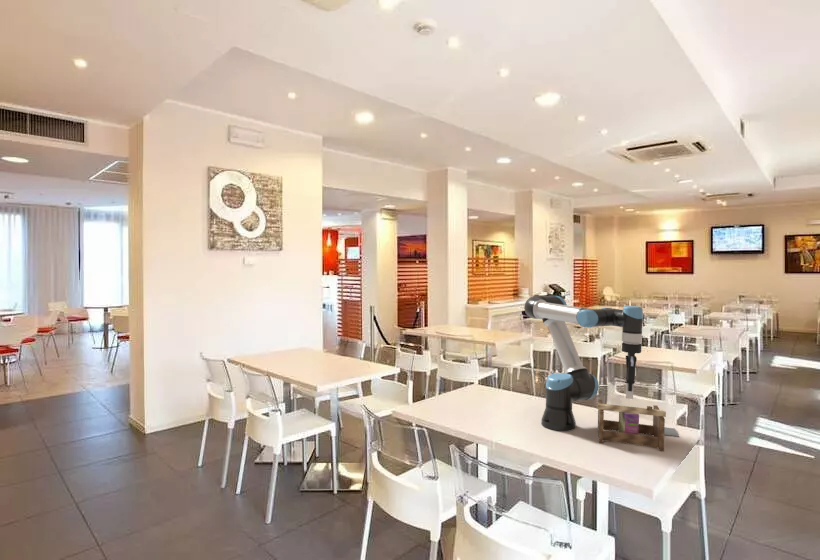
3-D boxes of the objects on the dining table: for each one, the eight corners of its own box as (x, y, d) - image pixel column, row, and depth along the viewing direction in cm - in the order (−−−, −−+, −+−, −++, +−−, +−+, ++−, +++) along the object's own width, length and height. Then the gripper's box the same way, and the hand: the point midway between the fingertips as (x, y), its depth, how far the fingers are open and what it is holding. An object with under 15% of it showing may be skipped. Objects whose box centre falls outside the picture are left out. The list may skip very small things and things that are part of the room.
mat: (653, 434, 207) (653, 433, 207) (650, 426, 218) (650, 425, 218) (679, 437, 204) (679, 436, 204) (674, 429, 214) (674, 428, 214)
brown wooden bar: (597, 409, 198) (597, 402, 198) (597, 407, 201) (597, 400, 201) (665, 416, 189) (665, 409, 189) (664, 414, 192) (664, 407, 192)
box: (638, 442, 197) (639, 414, 197) (624, 441, 198) (624, 413, 198) (632, 433, 207) (632, 407, 207) (618, 432, 208) (618, 406, 208)
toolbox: (599, 442, 196) (599, 411, 195) (597, 427, 215) (598, 399, 214) (663, 451, 187) (664, 419, 187) (656, 435, 206) (657, 405, 206)
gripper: (643, 345, 190) (640, 403, 191) (639, 341, 202) (637, 395, 203) (623, 344, 193) (620, 401, 194) (620, 339, 205) (618, 393, 206)
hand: (629, 398), depth 198 cm, fingers closed
